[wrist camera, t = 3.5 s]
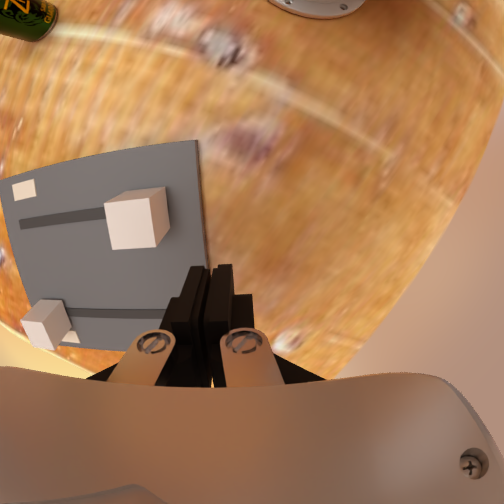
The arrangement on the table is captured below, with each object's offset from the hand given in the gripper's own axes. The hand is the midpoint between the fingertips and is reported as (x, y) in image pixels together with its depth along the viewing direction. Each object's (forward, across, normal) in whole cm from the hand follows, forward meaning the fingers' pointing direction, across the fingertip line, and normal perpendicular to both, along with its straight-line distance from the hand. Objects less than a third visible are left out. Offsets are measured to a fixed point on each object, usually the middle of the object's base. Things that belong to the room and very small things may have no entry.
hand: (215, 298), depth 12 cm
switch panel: (+18, +16, +6) cm, 25 cm away
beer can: (+18, +22, -26) cm, 38 cm away
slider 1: (+16, +24, +12) cm, 31 cm away
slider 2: (+16, +8, 0) cm, 18 cm away
